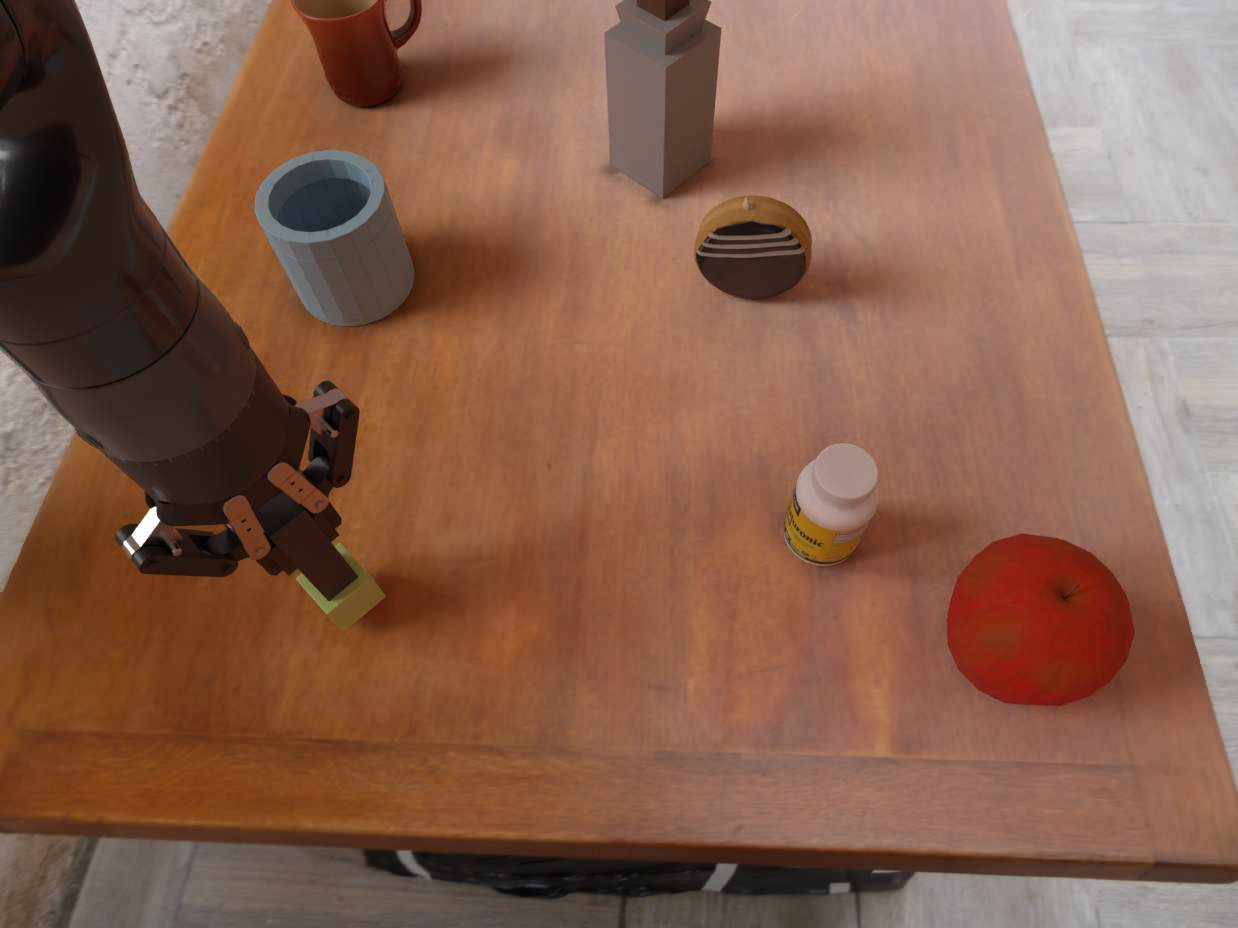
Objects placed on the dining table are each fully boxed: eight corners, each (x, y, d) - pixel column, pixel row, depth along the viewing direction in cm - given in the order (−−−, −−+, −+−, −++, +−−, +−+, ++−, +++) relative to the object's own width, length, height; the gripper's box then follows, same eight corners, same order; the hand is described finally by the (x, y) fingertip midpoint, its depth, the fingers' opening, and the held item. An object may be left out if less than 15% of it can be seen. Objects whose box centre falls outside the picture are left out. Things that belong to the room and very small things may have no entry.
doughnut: (689, 296, 73) (695, 209, 64) (695, 264, 75) (702, 174, 66) (799, 311, 72) (821, 224, 63) (803, 278, 74) (825, 189, 65)
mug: (347, 128, 84) (312, 32, 76) (312, 81, 88) (275, -16, 79) (454, 83, 88) (432, -15, 79) (416, 40, 91) (391, -59, 82)
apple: (921, 571, 60) (976, 496, 50) (1068, 583, 59) (1154, 510, 49) (932, 716, 55) (996, 665, 45) (1092, 731, 54) (1194, 683, 44)
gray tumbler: (344, 346, 71) (303, 263, 62) (277, 283, 75) (229, 196, 66) (437, 280, 74) (410, 192, 66) (369, 222, 78) (334, 132, 69)
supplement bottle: (768, 516, 62) (788, 448, 54) (834, 490, 63) (863, 420, 55) (803, 580, 60) (830, 520, 51) (871, 552, 61) (908, 489, 52)
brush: (344, 632, 58) (265, 552, 46) (313, 597, 59) (229, 510, 47) (386, 596, 59) (321, 509, 47) (355, 562, 60) (284, 469, 48)
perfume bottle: (710, 161, 81) (726, -27, 65) (662, 199, 79) (667, 14, 63) (657, 129, 83) (660, -60, 68) (610, 165, 81) (601, -22, 65)
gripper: (254, 248, 40) (361, 438, 55) (-29, 429, 35) (172, 582, 51) (349, 336, 37) (434, 511, 52) (55, 545, 33) (241, 670, 48)
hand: (305, 545), depth 51 cm, fingers closed on brush, 2 cm apart
